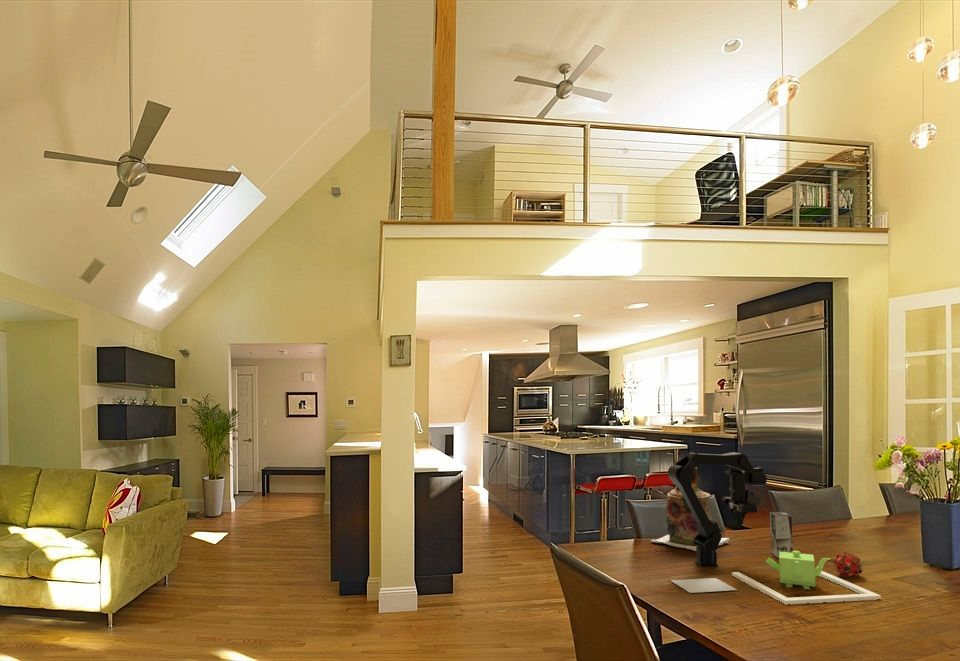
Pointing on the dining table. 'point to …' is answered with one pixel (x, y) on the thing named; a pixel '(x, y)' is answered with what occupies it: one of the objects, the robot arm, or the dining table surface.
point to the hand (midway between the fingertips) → (739, 527)
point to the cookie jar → (684, 518)
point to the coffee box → (781, 532)
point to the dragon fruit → (847, 565)
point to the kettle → (797, 568)
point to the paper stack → (703, 585)
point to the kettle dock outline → (814, 599)
